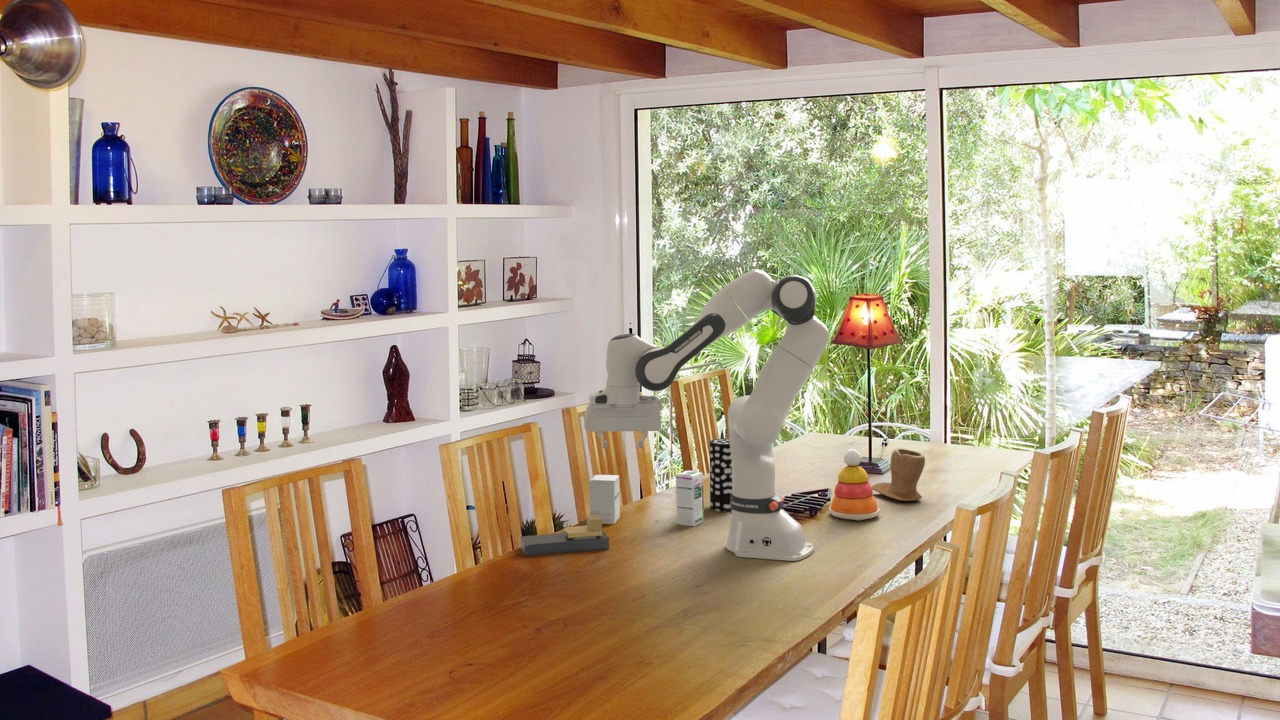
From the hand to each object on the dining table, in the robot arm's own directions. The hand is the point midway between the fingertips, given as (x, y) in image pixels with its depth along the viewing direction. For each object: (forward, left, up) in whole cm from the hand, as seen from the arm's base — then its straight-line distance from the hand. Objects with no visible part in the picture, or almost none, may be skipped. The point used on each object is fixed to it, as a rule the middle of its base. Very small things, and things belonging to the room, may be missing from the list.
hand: (622, 447), depth 290 cm
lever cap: (+7, +9, -22) cm, 25 cm away
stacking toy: (-47, -51, -26) cm, 74 cm away
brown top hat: (-54, -77, -26) cm, 97 cm away
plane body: (+11, +12, -25) cm, 30 cm away
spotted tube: (-10, -43, -26) cm, 51 cm away
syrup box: (-8, -24, -26) cm, 36 cm away
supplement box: (+15, -16, -26) cm, 34 cm away
